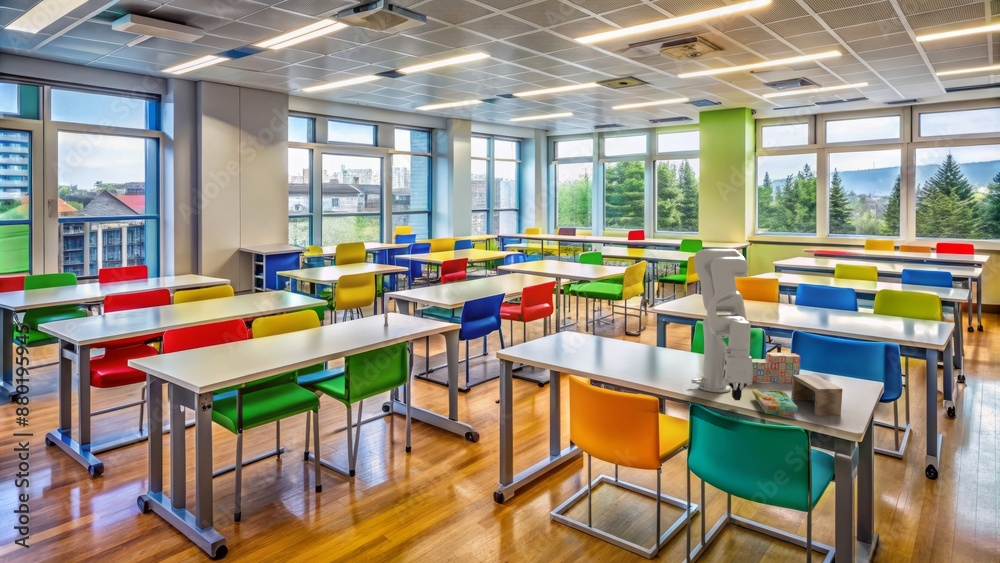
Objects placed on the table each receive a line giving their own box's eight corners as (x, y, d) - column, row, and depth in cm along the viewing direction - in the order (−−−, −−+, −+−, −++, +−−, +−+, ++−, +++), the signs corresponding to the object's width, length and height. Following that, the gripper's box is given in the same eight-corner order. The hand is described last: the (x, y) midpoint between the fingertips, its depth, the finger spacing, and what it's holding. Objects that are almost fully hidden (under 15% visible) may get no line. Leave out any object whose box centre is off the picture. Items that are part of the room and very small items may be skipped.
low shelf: (816, 415, 222) (818, 389, 220) (791, 399, 240) (792, 374, 239) (840, 415, 222) (842, 388, 220) (813, 399, 240) (815, 374, 239)
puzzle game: (763, 403, 222) (752, 387, 241) (762, 415, 223) (752, 398, 242) (797, 405, 220) (784, 389, 239) (797, 417, 220) (783, 400, 240)
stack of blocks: (749, 383, 263) (750, 355, 262) (744, 378, 270) (745, 352, 268) (799, 383, 262) (800, 356, 261) (792, 379, 268) (794, 352, 267)
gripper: (722, 355, 225) (720, 402, 227) (762, 354, 225) (760, 402, 227) (715, 350, 232) (713, 396, 234) (754, 350, 232) (751, 396, 234)
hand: (736, 399), depth 230 cm, fingers closed
